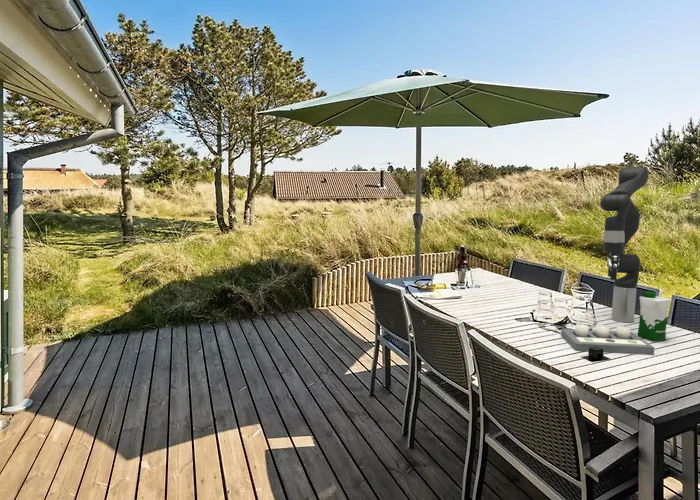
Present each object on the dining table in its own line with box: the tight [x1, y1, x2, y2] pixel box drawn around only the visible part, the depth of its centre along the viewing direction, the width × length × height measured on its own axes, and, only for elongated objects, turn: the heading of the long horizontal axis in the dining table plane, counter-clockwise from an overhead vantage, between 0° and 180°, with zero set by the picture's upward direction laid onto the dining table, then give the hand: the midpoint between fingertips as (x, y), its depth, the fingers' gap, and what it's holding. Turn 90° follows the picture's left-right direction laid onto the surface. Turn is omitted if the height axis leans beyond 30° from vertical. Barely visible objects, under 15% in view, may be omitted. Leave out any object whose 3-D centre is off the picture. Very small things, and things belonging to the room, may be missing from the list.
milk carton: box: [636, 290, 671, 343], centre depth 169 cm, size 9×9×20 cm
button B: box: [595, 324, 610, 338], centre depth 166 cm, size 5×5×5 cm
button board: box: [560, 328, 656, 356], centre depth 164 cm, size 18×28×3 cm, turn 79°
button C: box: [574, 323, 590, 337], centre depth 167 cm, size 5×5×5 cm
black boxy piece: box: [580, 346, 612, 363], centre depth 150 cm, size 12×7×5 cm, turn 105°
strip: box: [576, 337, 647, 346], centre depth 159 cm, size 5×24×1 cm, turn 79°
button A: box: [615, 325, 632, 339], centre depth 164 cm, size 5×5×5 cm
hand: (612, 278), depth 170 cm, fingers open, 8 cm apart
